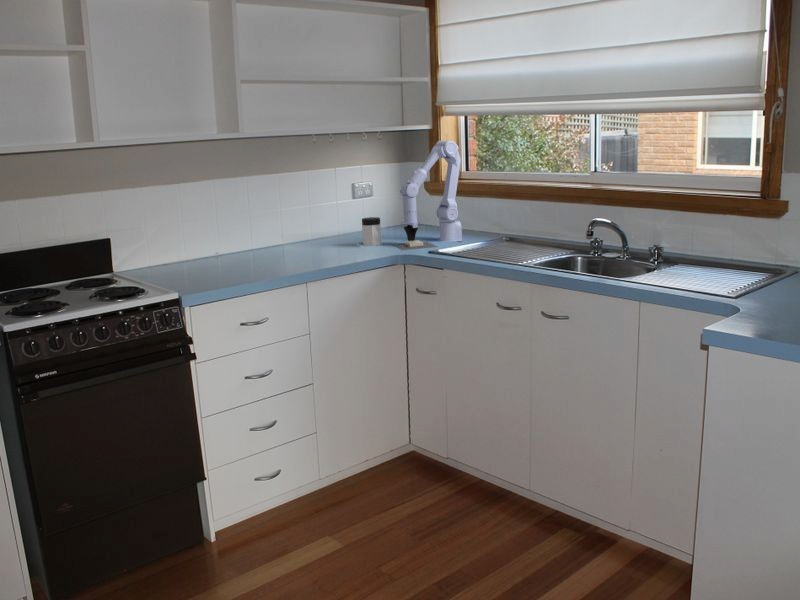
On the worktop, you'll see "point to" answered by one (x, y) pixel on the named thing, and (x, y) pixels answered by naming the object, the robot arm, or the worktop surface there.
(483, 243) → the worktop surface
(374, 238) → the jar
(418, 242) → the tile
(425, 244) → the mat
